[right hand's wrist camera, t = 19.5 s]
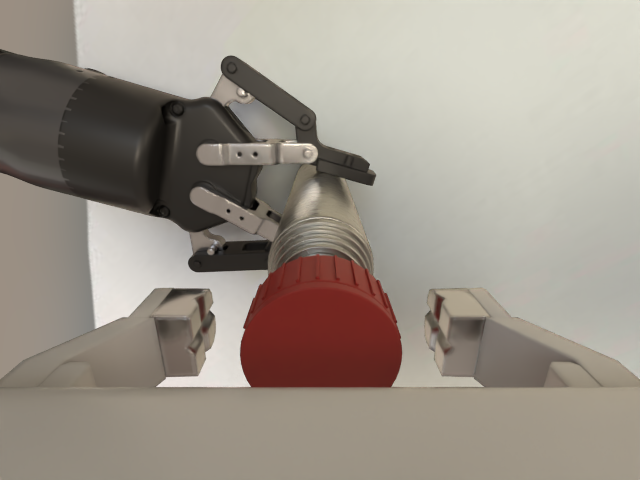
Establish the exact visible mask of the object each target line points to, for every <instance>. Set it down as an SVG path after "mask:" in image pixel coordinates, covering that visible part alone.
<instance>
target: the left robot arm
mask: <svg viewBox="0 0 640 480" xmlns="http://www.w3.org/2000/svg"><path fill="white" fill-rule="evenodd" d="M221 71H222V73H223V74H222V76H221V78H220V80H219V82H218V84H217V85H216V87H215V89H214V91H213V93H212V95H211V97H202V98H198V99H194V100H190V99H186V98H182V97H179V96H175V95H172V94H168V93H165V92H161V91H158V90H155V89H151V88H148V87H144V86H141V85H138V84H134V83H131V82H127V81H124V80H121V79H117V78H114V77H110V76H107V75H105V74H103V73H101V72H99V71H96V70H93V69H89V68H88V69H86V68H85V69H83V68H80V67H76V66H73V65H69V64H66V63H62V62H57V61H52V60H45V59H38V58H32V57H27V56H23V55H18V54H15V53H11V52H8V51H5V50H1V49H0V173H4V174H7V175H10V176H13V177H15V178H18V179H20V180H22V181H25V182H27V183H30V184H33V185H36V186H39V187H42V188H46V189H49V190H53V191H57V192H61V193H65V194H69V195H73V196H76V197H80V198H84V199H88V200H91V201H95V202H99V203H103V204H107V205H111V206H115V207H119V208H123V209H126V210H130V211H134V212H138V213H142V214H146V215H150V216H155V217H161V218H166V219H169V220H171V221H173V222H175V223H176V224H177V225H179V226H180V227H181V228H182V229H184V230H185V231H188V232H189V233H190V238H191V244H192V249H193V255H192V257H191V258H190V259H189V261H188V265H189V267H190V269H191V270H193V271H195V272H217V271H243V270H268V256H269V252H270V248H271V245H272V243H273V240H274V237H275V234H276V231H277V229H278V226H279V223H280V220H281V217H282V214H280V213H278V212H277V211H275V210H273V209H272V208H271V207H270V206H269V205H268V204H267V203H265V202H263V201H262V200H260V199H258V198H256V194H257V177H258V175H259V173H260V171H261V170H262V167H263V165H276V164H310V165H313V166H316V171H320V172H323V173H327V174H331V175H334V176H337V177H341V178H344V179H348V180H351V181H355V182H359V183H362V184H366V185H370V186H373V183H374V180H375V177H376V174H375V173H374V172H373V171H372V170H369V169H368V168H369V165H370V164H369V163H368V162H367V161H366V160H365V159H364V158H362V157H361V156H359V155H355V154H352V153H348V152H345V151H342V150H338V149H335V148H331V147H328V146H325V145H323V144H321V143H320V141H319V140H318V138H317V131H316V115H315V113H314V112H313V111H312V110H311V109H309V108H308V107H307V106H305V105H304V104H302V103H301V102H300V101H298V100H297V99H295V98H294V97H293V96H291V95H290V94H288V93H287V92H286V91H284V90H283V89H281V88H280V87H279V86H277V85H276V84H274V83H273V82H272V81H270V80H269V79H267V78H266V77H265V76H263V75H262V74H261V73H259V72H258V71H256V70H255V69H254V68H252V67H251V66H249V65H248V64H247V63H245V62H243V61H242V60H240V59H239V58H237V57H235V56H227V57H225V58H224V59H223V61H222V63H221ZM255 98H256V99H257V100H259V101H260V102H262V103H263V104H264V105H266V106H267V107H269V108H270V109H272V110H273V111H275V112H276V113H277V114H279V115H280V116H282V117H283V118H285V119H286V120H287V121H289V122H290V123H292V124H293V125H295V128H296V138H297V140H284V139H255V138H254V137H253V136H252V135H251V134H250V132H249V131H248V130H247V129H246V127H245V126H244V125H243V124H242V123H241V121H240V120H239V119H238V118H237V116H236V115H235V114H234V113H233V112H232V110H231V109H230V108H229V107H228V106H229V104H230V103H232V102H234V101H237V102H239V103H241V104H250V103H252V102H253V101H254V100H255ZM241 216H242V217H243V218H242V217H241ZM226 222H230V223H232V224H234V225H236V226H238V227H239V228H241V229H243V230H245V231H247V232H249V233H251V234H258V235H260V236H262V237H264V238H266V239H267V240H257V241H233V242H226V241H225V239H224V238H223V237H222V236H219V235H214V234H212V233H210V232H209V231H208V229H209V228H212V227H215V226H218V225H220V224H223V223H226Z"/></svg>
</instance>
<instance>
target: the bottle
mask: <svg viewBox="0 0 640 480" xmlns="http://www.w3.org/2000/svg"><path fill="white" fill-rule="evenodd" d="M316 254H319V255H327V256H334V255H337V257H339V258H343V259H346V260H349V261H351V260H353V261H354V263H355V264H357V265H359V266H361V267H362V268H364V269H366V268H367V269H368V270H369V273H370V274H371V275H372V276H373V255H372V251H371V248H370V245H369V243H368V240H367V237H366V234H365V232H364V229H363V226H362V223H361V221H360V218H359V215H358V213H357V210H356V207H355V204H354V202H353V199H352V196H351V193H350V191H349V188H348V185H347V182H346V180H345V179H344V178H341V177H337V176H334V175H331V174H327V173H323V172H320V171H316V166H313V165H310V164H302V166H301V167H300V168H299V170H298V172H297V175H296V178H295V180H294V183H293V186H292V189H291V192H290V195H289V197H288V200H287V203H286V206H285V209H284V212H283V214H282V217H281V220H280V223H279V226H278V229H277V231H276V234H275V237H274V240H273V243H272V245H271V248H270V252H269V256H268V275H269V273H270V272H272V273H273V272H274V271H275V270H277V269H278V268H280V267H281V266H282V264H283V263H288V262H291V261H293V260H296V259H298V258H299V257H301V256H302V258H303V257H307V256H314V255H316Z"/></svg>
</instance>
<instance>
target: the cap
mask: <svg viewBox="0 0 640 480" xmlns="http://www.w3.org/2000/svg"><path fill="white" fill-rule="evenodd" d="M396 323H397V320H396V318H395V315H394V312H393V309H392V307H391V304H390V301H389V298H388V296H387V293H384V292H383V289H382V286H381V284H380V281H379V280H377V281H376V279H375V278H374V277H373V276H372V275H371V274H370V273H369V270H368V269H367V268H366V269H364V268H362V267H361V266H359V265H357V264H355V263H354V261H353V260H351V261H349V260H346V259H343V258H339V257H337V255H334V256H327V255H319V254H316V255H314V256H307V257H303V258H302V256H301V257H299V258H298V259H296V260H293V261H291V262H288V263H283V264H282V266H281V267H280V268H278V269H277V270H275V271H274V272H273V273H272V272H270V273H269V275H268V278H267V279H266V280H265V282H264V283H263V284H262V285H261V284H260V285H259V288H258V290H257V293H256V296H255V298H253V301H252V304H251V307H250V309H249V312H248V315H247V318H246V321H245V324H244V327H243V328H244V329H245V331H244V334H243V337H242V341H241V347H240V358H241V365H242V368H243V372H244V375H245V377H246V379H247V381H248V383H249V384H250V386H251V387H391V386H392V384H393V383H394V381H395V379H396V377H397V375H398V372H399V369H400V365H401V360H402V345H401V341H400V339H401V336H400V333H399V330H398V327H397V324H396Z"/></svg>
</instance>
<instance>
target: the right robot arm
mask: <svg viewBox="0 0 640 480" xmlns="http://www.w3.org/2000/svg"><path fill="white" fill-rule="evenodd" d="M212 304H213V298H212V292H211V291H210V289H190V288H157V289H154V290H153V291H152V292H151V293H150V295H149V296H148V297H147V298H146V299H145V300H144V301H143V302H142V303H141V304H140V305H139V306H138V307H137V309H136V310H135V311H134V312H133V313H132V314H131V315H130V316H129V317H125V318H120V319H118V320H115V321H113V322H111V323H108V324H106V325H104V326H102V327H99V328H97V329H95V330H92V331H90V332H88V333H85V334H83V335H81V336H78V337H76V338H74V339H72V340H69V341H67V342H65V343H62V344H60V345H58V346H55V347H53V348H51V349H49V350H46V351H44V352H41V353H39V354H37V355H34V356H32V357H30V358H28V359H25V360H23V361H22V362H21V363H19V364H18V365H17V366H16V367H15V368H14V369H12V370H11V371H10V372H9V373H8V374H6V375H5V376H4V377H3V378H2V379H0V480H640V379H638V378H637V377H636V376H635V375H634V374H633V373H631V372H630V371H629V370H628V369H627V368H626V367H624V366H623V365H622V364H621V363H620V362H618V361H617V360H614V359H612V358H610V357H608V356H605V355H603V354H601V353H598V352H596V351H594V350H591V349H589V348H587V347H585V346H582V345H580V344H578V343H575V342H573V341H571V340H568V339H566V338H564V337H561V336H559V335H557V334H555V333H552V332H550V331H548V330H545V329H543V328H541V327H538V326H536V325H534V324H531V323H529V322H527V321H525V320H522V319H520V318H516V317H511V316H510V315H509V314H508V313H507V312H506V311H505V310H504V308H503V307H502V306H501V305H500V304H499V303H498V302H497V301H496V300H495V299H494V298H493V297H492V296H491V295H490V293H489V292H488V291H487V290H486V289H484V288H450V289H430V290H429V293H428V297H427V304H428V306H429V308H430V311H429V312H428V313H427V315H426V316H425V322H424V331H425V338H426V342H427V345H428V347H429V349H431V350H432V351H434V352H435V355H434V360H435V362H436V364H437V367H438V369H439V371H440V373H441V375H442V376H454V377H474V379H475V380H477V381H478V382H479V383H480V384H482V385H483V386H484V387H156V386H157V385H158V384H160V383H161V382H162V381H163V380H165V379H166V377H185V376H198V375H199V373H200V371H201V369H202V367H203V364H204V362H205V360H206V355H205V352H206V351H208V350H209V349H211V347H212V345H213V342H214V338H215V333H216V321H215V316H214V315H213V313H212V312H211V311H210V308H211V306H212Z"/></svg>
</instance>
